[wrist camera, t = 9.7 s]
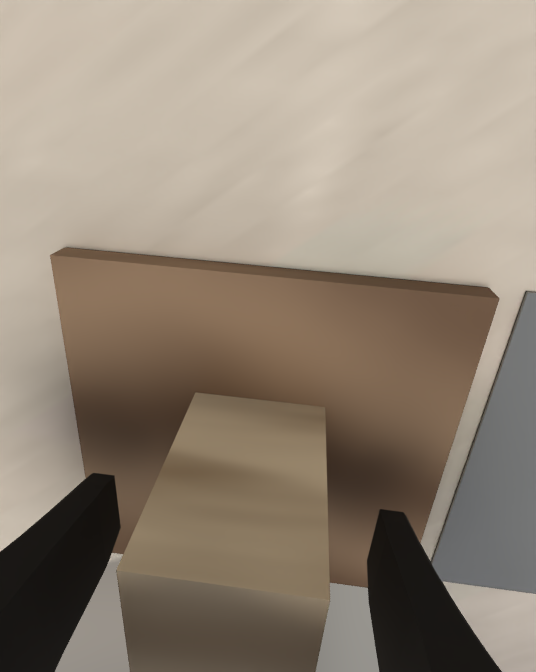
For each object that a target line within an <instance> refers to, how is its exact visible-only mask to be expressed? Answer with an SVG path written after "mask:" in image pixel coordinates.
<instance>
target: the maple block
mask: <svg viewBox="0 0 536 672" xmlns="http://www.w3.org/2000/svg"><path fill="white" fill-rule="evenodd" d="M116 572H117V579H118V587H119V593H120V601H121V608H122V616H123V623H124V631H125V637H126V645H127V653H128V660H129V667H130V672H315V671H316V666H317V661H318V656H319V651H320V647H321V642H322V637H323V632H324V627H325V622H326V617H327V612H328V607H329V603H330V578H329V538H328V498H327V458H326V419H325V407H319V406H310V405H301V404H293V403H284V402H275V401H266V400H257V399H248V398H240V397H231V396H222V395H213V394H204V393H195V395H194V397H193V399H192V401H191V404H190V406H189V408H188V410H187V413H186V415H185V417H184V419H183V422H182V424H181V426H180V428H179V431H178V433H177V435H176V437H175V440H174V442H173V444H172V446H171V449H170V451H169V453H168V455H167V458H166V460H165V462H164V464H163V467H162V469H161V471H160V473H159V476H158V478H157V480H156V482H155V485H154V487H153V489H152V491H151V494H150V496H149V498H148V500H147V503H146V505H145V507H144V509H143V512H142V514H141V516H140V518H139V521H138V523H137V525H136V527H135V530H134V532H133V534H132V536H131V539H130V541H129V543H128V545H127V548H126V550H125V552H124V554H123V556H122V559H121V561H120V563H119V565H118V568H117V570H116Z"/></svg>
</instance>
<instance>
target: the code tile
mask: <svg viewBox="0 0 536 672" xmlns="http://www.w3.org/2000/svg"><path fill="white" fill-rule="evenodd" d="M431 564H432V565H433V567H434V569H435V571H436V572H437V574H438V576H439V578H440V579H441V581H445V582H452V583H459V584H467V585H474V586H482V587H489V588H496V589H504V590H511V591H518V592H526V593H533V594H536V292H528V291H526V294H525V297H524V300H523V302H522V305H521V308H520V311H519V314H518V317H517V320H516V322H515V325H514V328H513V331H512V334H511V337H510V340H509V342H508V345H507V348H506V351H505V354H504V357H503V360H502V362H501V365H500V368H499V371H498V374H497V377H496V379H495V382H494V385H493V388H492V391H491V394H490V397H489V399H488V402H487V405H486V408H485V411H484V414H483V417H482V419H481V422H480V425H479V428H478V431H477V434H476V436H475V439H474V442H473V445H472V448H471V451H470V454H469V456H468V459H467V462H466V465H465V468H464V471H463V474H462V476H461V479H460V482H459V485H458V488H457V491H456V494H455V496H454V499H453V502H452V505H451V508H450V511H449V513H448V516H447V519H446V522H445V525H444V528H443V531H442V533H441V536H440V539H439V542H438V545H437V548H436V551H435V553H434V556H433V559H432V562H431Z"/></svg>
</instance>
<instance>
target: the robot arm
mask: <svg viewBox="0 0 536 672" xmlns="http://www.w3.org/2000/svg"><path fill="white" fill-rule="evenodd" d="M120 529H121V525H120V517H119V509H118V500H117V492H116V484H115V475H107V474H100V473H92V474H91V475H89V476H88V477H87V478H86V479H85V480H84V481H83V482H81V483H80V484H79V485H78V486H77V487H76V488H75V489H74V490H73V491H71V492H70V493H69V494H68V495H67V496H66V497H65V498H64V499H63V500H61V501H60V502H59V503H58V504H57V505H56V506H55V507H53V508H52V509H51V510H50V511H49V512H48V513H47V514H45V515H44V516H43V517H42V518H41V519H40V520H38V521H37V522H36V523H35V524H34V525H33V526H31V527H30V528H29V529H28V530H27V531H26V532H24V533H23V534H22V535H21V536H20V537H18V538H17V539H16V540H15V541H13V542H12V543H11V544H10V545H8V546H7V547H6V548H5V549H3V550H2V551H1V552H0V672H55V669H56V667H57V665H58V663H59V661H60V659H61V657H62V654H63V652H64V650H65V648H66V646H67V644H68V642H69V640H70V638H71V636H72V634H73V632H74V630H75V628H76V626H77V624H78V622H79V620H80V619H81V616H82V615H83V613H84V611H85V609H86V607H87V605H88V603H89V601H90V599H91V597H92V595H93V593H94V591H95V589H96V587H97V585H98V583H99V580H100V579H101V577H102V575H103V573H104V570H105V568H106V566H107V564H108V561H109V559H110V556H111V553H112V551H113V548H114V545H115V543H116V540H117V537H118V534H119V531H120ZM367 576H368V594H369V606H370V613H371V620H372V627H373V633H374V640H375V646H376V653H377V658H378V665H379V672H502V671H501V670H500V669H499V667H498V666H497V665H496V663H495V662H494V661H493V659H492V658H491V656H490V655H489V654H488V652H487V651H486V649H485V648H484V646H483V645H482V644H481V642H480V641H479V639H478V638H477V636H476V635H475V633H474V632H473V630H472V629H471V627H470V626H469V624H468V623H467V621H466V620H465V618H464V617H463V615H462V614H461V612H460V610H459V609H458V607H457V606H456V604H455V603H454V601H453V599H452V598H451V596H450V594H449V593H448V591H447V589H446V588H445V586H444V584H443V583H442V581H441V579H440V578H439V576H438V574H437V572H436V571H435V569H434V567H433V565H432V564H431V562H430V560H429V558H428V556H427V555H426V553H425V551H424V549H423V547H422V545H421V544H420V542H419V540H418V538H417V536H416V534H415V532H414V530H413V528H412V526H411V524H410V522H409V520H408V518H407V516H406V515H405V513H404V512H400V511H392V510H384V509H380V510H379V514H378V518H377V522H376V526H375V530H374V534H373V538H372V542H371V546H370V550H369V554H368V558H367Z"/></svg>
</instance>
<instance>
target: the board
mask: <svg viewBox="0 0 536 672" xmlns="http://www.w3.org/2000/svg"><path fill="white" fill-rule="evenodd" d="M50 257H51V264H52V270H53V276H54V283H55V289H56V295H57V301H58V308H59V314H60V320H61V326H62V333H63V339H64V345H65V351H66V358H67V364H68V370H69V376H70V383H71V389H72V395H73V401H74V408H75V414H76V420H77V427H78V433H79V439H80V445H81V452H82V458H83V464H84V470H85V477H86V478H87V477H88V476H89V475H91V474H92V473H100V474H107V475H115V484H116V492H117V500H118V509H119V517H120V525H121V529H120V531H119V534H118V537H117V540H116V543H115V545H114V548H113V551H112V553H119V554H124V552H125V550H126V548H127V545H128V543H129V541H130V539H131V536H132V534H133V532H134V530H135V527H136V525H137V523H138V521H139V518H140V516H141V514H142V512H143V509H144V507H145V505H146V503H147V500H148V498H149V496H150V494H151V491H152V489H153V487H154V485H155V482H156V480H157V478H158V476H159V473H160V471H161V469H162V467H163V464H164V462H165V460H166V458H167V455H168V453H169V451H170V449H171V446H172V444H173V442H174V440H175V437H176V435H177V433H178V431H179V428H180V426H181V424H182V422H183V419H184V417H185V415H186V413H187V410H188V408H189V406H190V404H191V401H192V399H193V397H194V395H195V393H204V394H213V395H222V396H231V397H240V398H248V399H257V400H266V401H275V402H284V403H293V404H301V405H310V406H319V407H325V419H326V458H327V498H328V538H329V578H330V583H337V584H345V585H352V586H359V587H367V588H368V576H367V558H368V554H369V550H370V546H371V542H372V538H373V534H374V530H375V526H376V522H377V518H378V514H379V510H380V509H384V510H392V511H400V512H404V513H405V515H406V516H407V518H408V520H409V522H410V524H411V526H412V528H413V530H414V532H415V534H416V536H417V538H418V540H419V542H421V539H422V536H423V533H424V530H425V527H426V524H427V521H428V518H429V515H430V511H431V508H432V505H433V502H434V499H435V496H436V493H437V490H438V487H439V484H440V481H441V477H442V474H443V471H444V468H445V465H446V462H447V459H448V456H449V453H450V450H451V447H452V444H453V440H454V437H455V434H456V431H457V428H458V425H459V422H460V419H461V416H462V413H463V410H464V407H465V403H466V400H467V397H468V394H469V391H470V388H471V385H472V382H473V379H474V376H475V373H476V369H477V366H478V363H479V360H480V357H481V354H482V351H483V348H484V345H485V342H486V339H487V336H488V332H489V329H490V326H491V323H492V320H493V317H494V314H495V311H496V308H497V305H498V302H499V298H498V297H497V296H496V295H495V294H494V293H493V292H492V291H491V290H490V289H489V288H486V287H475V286H465V285H454V284H444V283H433V282H423V281H412V280H402V279H391V278H381V277H370V276H360V275H349V274H338V273H328V272H317V271H307V270H296V269H286V268H275V267H265V266H254V265H244V264H233V263H223V262H212V261H202V260H191V259H181V258H170V257H160V256H149V255H139V254H128V253H118V252H107V251H97V250H86V249H76V248H63V249H61V250H59V251H57V252H55V253H53V254H51V255H50Z"/></svg>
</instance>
